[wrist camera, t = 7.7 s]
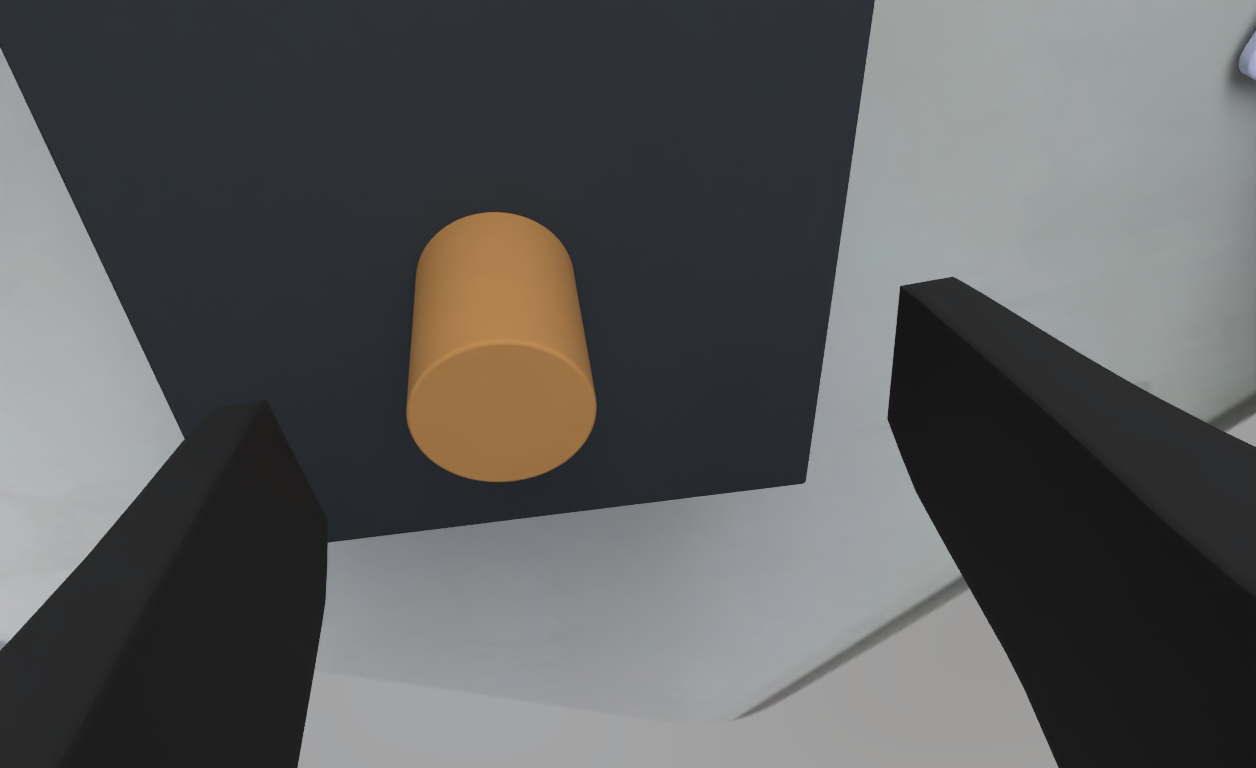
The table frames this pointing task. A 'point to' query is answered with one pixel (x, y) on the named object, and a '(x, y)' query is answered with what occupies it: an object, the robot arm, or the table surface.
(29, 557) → the table surface
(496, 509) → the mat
